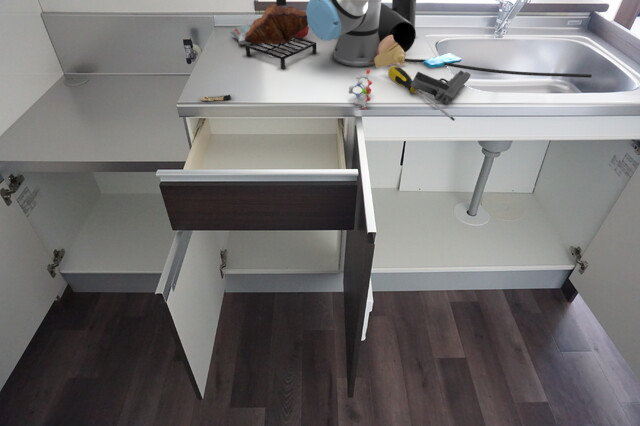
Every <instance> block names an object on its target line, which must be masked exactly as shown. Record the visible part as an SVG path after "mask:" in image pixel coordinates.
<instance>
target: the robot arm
mask: <svg viewBox="0 0 640 426" xmlns="http://www.w3.org/2000/svg"><path fill="white" fill-rule="evenodd" d="M381 3H382V0H309V1H308V3H307V4H306V10H305V11H306V15H307V22H308V26H309V30H311V32H312V33H313V35H314V36H315V37H317V38H318V39H319V40H321V41H322V40H323V41H324V42H325V41H326V42H329V41H333V40H336V43H335V46H334V48H333V49H334V50H333V59H334V60H335V61H336V62H337V63H340V64H341V65H344V66H347V67H348V66H350V67H357V68H358V67H360V68H361V67H362V68H363V67H371V66H375V61H374V58H375V57H376V56H377V50H378V46H379V44H380V40H379V35H378V28H379V18H380V8H381ZM275 4H276V5H277V6H282V7H284V6H287V0H275ZM425 60H426V59H419V58H406V57H405V59H404V63H406V62H407V63H423V64H424V61H425ZM440 62H441V61H440ZM444 65H445V67H450V68H451V67H452V68H457V69H463V70H464V69H465V70H470V71H477V72H486V73H495V74H504V75H515V76H517V75H518V76H531V77H532V76H534V77H562V78H563V77H564V78H565V77H566V78H592V76H593V75H592V74H587V73H565V72H564V73H563V72H562V73H560V72H532V71H529V72H528V71H515V70H505V69H503V70H502V69H494V68H493V69H492V68H484V67H477V66H471V65H463V64H459V63H458V64H457V63H446V62H444Z"/></svg>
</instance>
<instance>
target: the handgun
mask: <svg viewBox="0 0 640 426" xmlns="http://www.w3.org/2000/svg"><path fill="white" fill-rule="evenodd" d="M470 77H471V73H469V72H467V71H465V72H464V71H463V70H459V71H458V72H457V73H455V74H454V76H453V77H452V78H450V79H449V80H447V79H446V78H443V77H442V78H440V79H437V78H434V77H432V76H429V75H427V74H426V73H423V72H421V71H417V72H416V75H415V76H414V77H413V79H412V83H411V85H410V86H412V87H414V88H416V89H418V90H419V91H420V92H422V93H426V94H429V95H430V96H431V95H432V96H433V97H434V98H433V101H440V102H441V103H443V104H445V105H449V104H450V103H451V102H453V101H454V98H455V97H456V95H457V94H458V93H459V92H460V90H461V89H462V88H463V87H464V85H465V84H466V83H467V82H469V79H470Z"/></svg>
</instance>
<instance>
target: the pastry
mask: <svg viewBox="0 0 640 426" xmlns="http://www.w3.org/2000/svg"><path fill="white" fill-rule="evenodd" d="M251 25H252V26H251V27H250V30H249V31H248V32H247V33H246V36H245V41H246V42H249V43H251V44H258V45H265V44H264V43H266V44H271V45H274V46H277V44H280V43H281V44H282V43H286V44H287V43H288V42H289V41H290V40H291V39H294V37H295V36H296V34H297V32H300V31H302V30H304V29H305V28H306V27H307V26H309V24H308V22H307V15H306V10H299V9H298V8H295V7H293V6H287V7H286V8H285V7H284V6H277V5H276V2H274V3H271V4H269V5H268V6H267V7H266V8H265V10H264V12H263V13H262V15H261V17H259V18H256V19H254V20H253V22H252V24H251Z"/></svg>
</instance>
